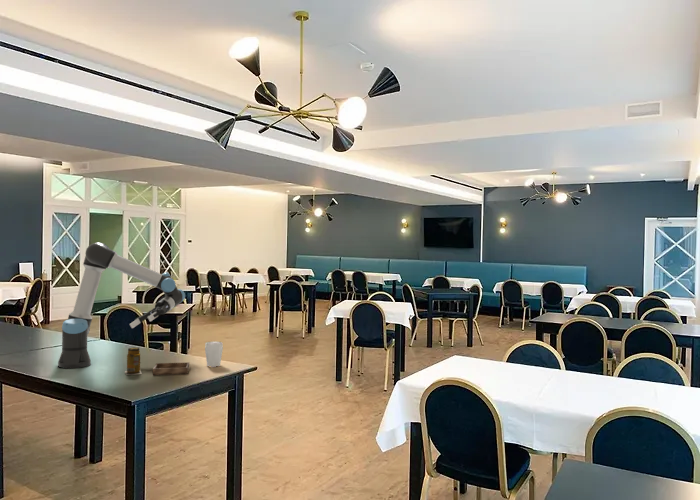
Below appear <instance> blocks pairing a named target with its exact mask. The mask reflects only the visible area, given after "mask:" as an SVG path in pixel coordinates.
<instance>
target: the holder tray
mask: <svg viewBox="0 0 700 500" xmlns="http://www.w3.org/2000/svg"><path fill="white" fill-rule="evenodd" d="M188 370H189V371H190V362H157V363H155V365H154V367H153V368H152V375H153V376H161V375H162V376H167V375H169V376H170V375H173V376H174V375H188V374H189V371H188ZM187 373H188V374H187Z"/></svg>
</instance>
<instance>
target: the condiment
mask: <svg viewBox="0 0 700 500" xmlns="http://www.w3.org/2000/svg"><path fill="white" fill-rule="evenodd" d="M124 374H125V376H127V375H128V376H130V375H131V376H132V375H133V376H134V375H135V376H136V375H142V374H143V373H142V371H141V353H140V347H128V350H127V354H126V370H124Z"/></svg>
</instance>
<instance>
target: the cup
mask: <svg viewBox="0 0 700 500" xmlns="http://www.w3.org/2000/svg"><path fill="white" fill-rule="evenodd" d="M223 349H224V346H223V342H222V341H215V340H214V341H206V342H205V348H204V350H205V352H204V353H205V361H206V366H207V367H208V366H211V367H210V368H217V367H216V366H218V367H220V366H221V362H222V356H223Z"/></svg>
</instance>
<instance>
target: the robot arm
mask: <svg viewBox="0 0 700 500" xmlns="http://www.w3.org/2000/svg"><path fill="white" fill-rule="evenodd" d="M82 263H83V264H82V265H83V267H84V272H83V275H82V280H81V281H80V286H79V290H78V293H77V296H76V301H75V303H74V307H73V311H71V312H70V313H69V314H68V317H67V319H65V320H63V322H62V326H61V329H62V330H61V331H62V333H61V334H62V337H61V353H60V355H59V357H58V361H57V367H58V366H59V367H64V368H63V369H79V367H80V368H85V367H89V366H91V363H92V361H91V358H90V354H89V351H88V335H89V333H90V329H91V325H92V320H93V316H92V315H91V313H92V309H93V306H94V303H95V299H96V295H97V292H98V288H99V285H100V282H101V281H100V280H101V277H102V274H103V272H105V271H106V269H110V268H111V269H113V270H116V271H118V272H120V273H122V274H125V275H127V276H129V277H132V278H134V279H137V280H139V281H141V282H143V283H146V284H148V285H151V286H153V287H155V288H157V289H159V290H161V291H162V292H163V294H164V297H163V298H161V299H160V300H158V301H157V302H156V303H155V305H154V308H152V309H150V310H148V311H147V312H146V313H143V314H142V315H140V316H138V317H136V318H135V319H134V321H131V323H129V326H130V328H131V329H134V328H135V327H137V326H138V325H141V323H142V322H144V321H146V320H148V321H149V322H153V320H155V319H157V318H158V317H159V316H160V315H165V314H167V313H168V312H169V311H172V310H173V309H174V308H175V307H177V306H178V305H180V304H181V303H182V302H183V301H184V300H185V299H186V293H185V292H184V290H183V289H181V288H178V287H177V286H176V281H175V280H174V279H173V278H172V276H171V275H170V273H169V272H168V271H167V272H162V273H159V272H158V271H156V270H153V269H150V268H148V267H146V266H143V265H141V264H139V263H137V262H135V261H133V260H131V259H129V258H126V257H123V256H121V255H119V254H118V253H117V251H114V250H113V249H111V248H110V247H109V246H108V245H107V244H106V243H103V242H93V243H91V244H89V245H88V246H87V248H86V250H85V256H84V260H83V262H82ZM59 367H58V368H59Z"/></svg>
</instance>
